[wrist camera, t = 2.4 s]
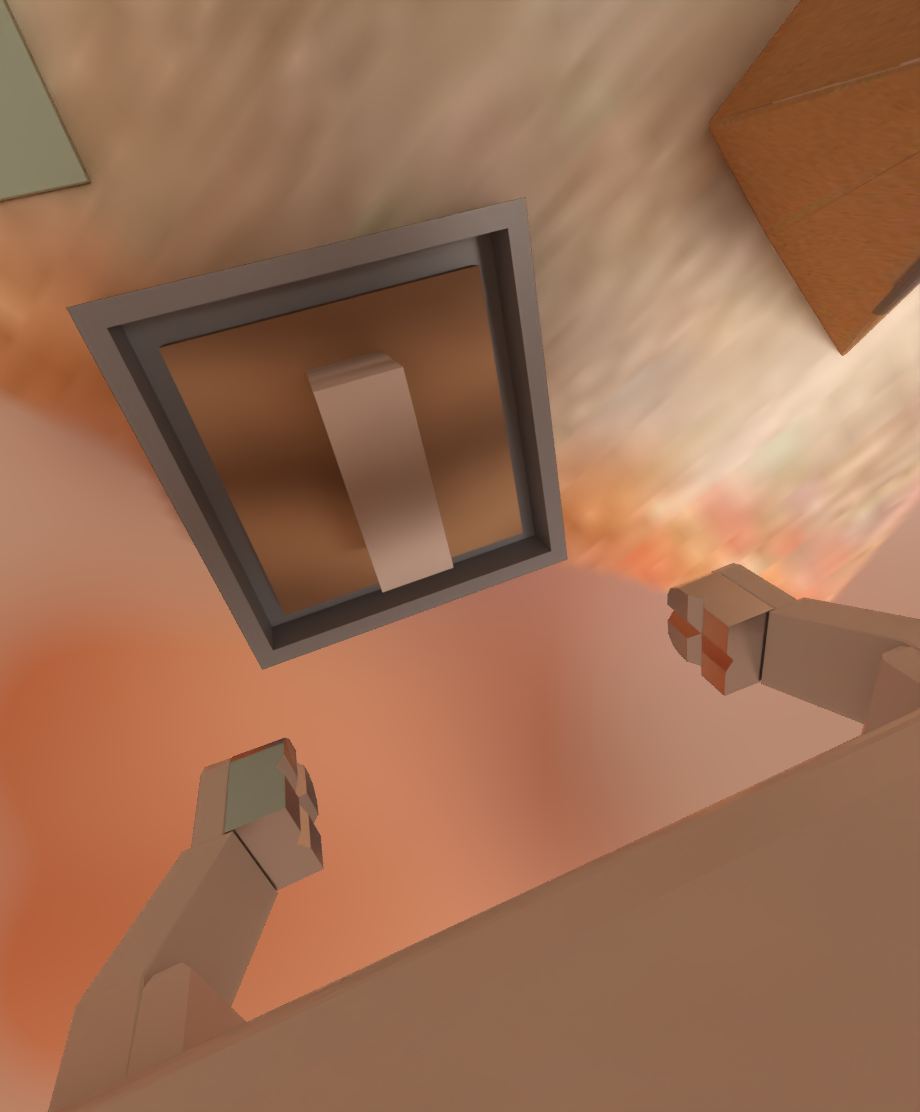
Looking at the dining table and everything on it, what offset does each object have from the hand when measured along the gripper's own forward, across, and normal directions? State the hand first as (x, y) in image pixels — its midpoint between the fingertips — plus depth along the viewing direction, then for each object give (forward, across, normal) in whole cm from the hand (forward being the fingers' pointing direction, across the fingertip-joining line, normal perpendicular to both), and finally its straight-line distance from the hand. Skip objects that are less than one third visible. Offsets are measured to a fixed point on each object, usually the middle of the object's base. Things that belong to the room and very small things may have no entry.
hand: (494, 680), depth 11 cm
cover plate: (+15, 0, 0) cm, 15 cm away
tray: (+16, 0, 0) cm, 16 cm away
